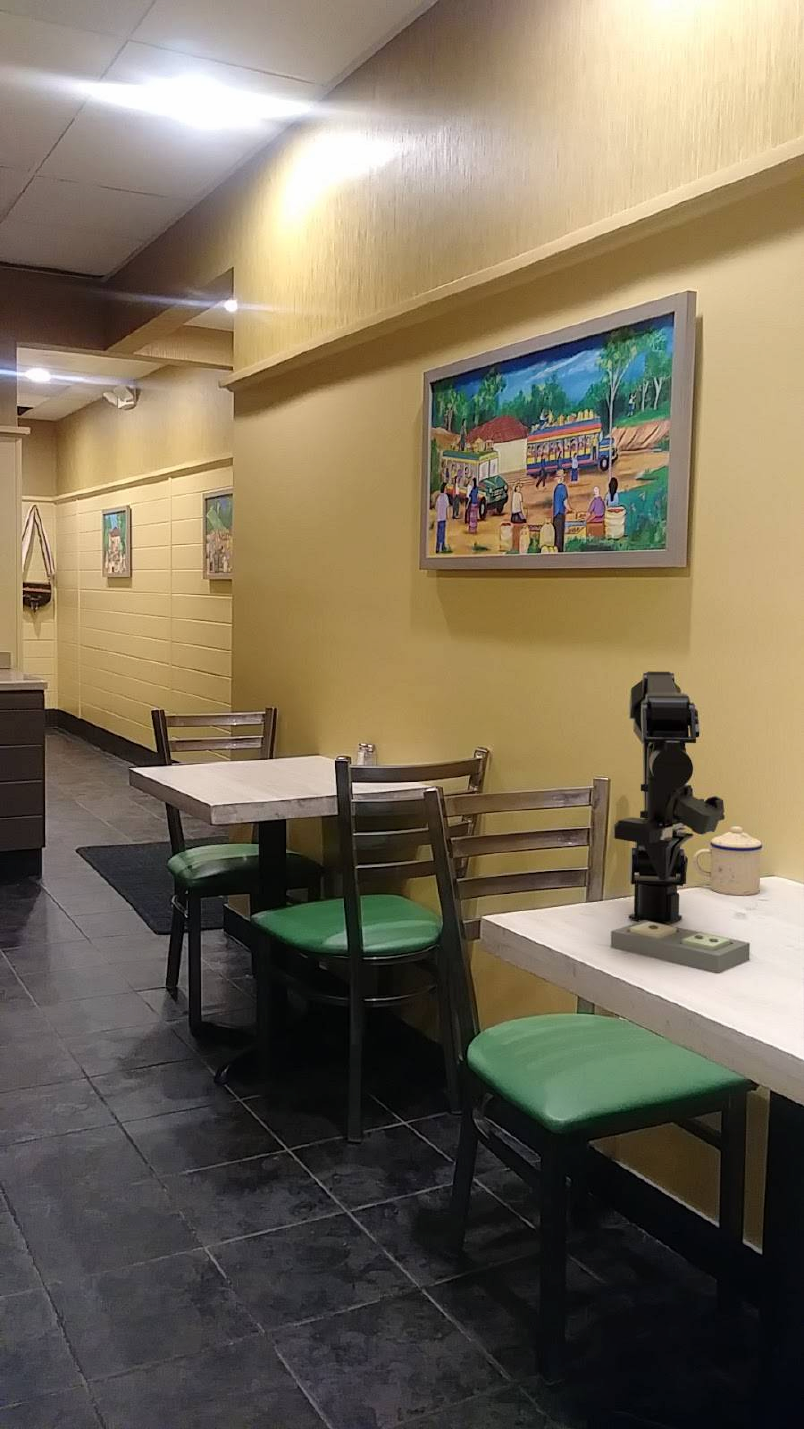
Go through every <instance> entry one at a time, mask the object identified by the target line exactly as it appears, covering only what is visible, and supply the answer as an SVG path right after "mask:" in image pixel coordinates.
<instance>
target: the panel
mask: <svg viewBox="0 0 804 1429" xmlns="http://www.w3.org/2000/svg"><path fill="white" fill-rule="evenodd" d="M645 922H652V921H647V920H642V921H636V922H635V923H634V922H633V923H631V924H628V925H625V926H623V927H619V928H616V929H612V930H610V948H612V949H617V950H620V951H625V952H629V953H632V954H637V955H642V956H645V957H650V958H654V959H658V960H661V961H666V962H668V963H669V962H671V963H674V964H679V965H682V966H688V967H691V968H695V969H699V970H703V971H707V972H712V973H715V974H720V973H722V972H724V971H726V970H729V969H731V968H733V967H736V966H738V965H740V964H742V963H745V962H747V961H750V948H751V947H750V945H751V944H750V942H747V941H742V940H739V939H733V938H730V937H729V938H728V937H724V936H720V935H715V934H709V933H705V932H701V931H697V930H692V929H687V928H684V927H678V926H673V925H670V924H661V923H657V924H661V925H666V926H670V927H675V928H676V933H673V934H671V935H668V936H665V937H662V938H660V939H658V938H654V937H650V936H645V935H641V934H637V933H632V932H630V928H631V927H634V926H637V925H640V924H643V923H645ZM652 923H656V922H652ZM698 933H704V934H708V935H713V936H717V937H722V938H726V939H731V940H730V945H728V946H726V947H723V948H721V949H718V950H716V951H711V950H706V949H702V948H698V947H693V946H689V945H685V944H682V939H685V938H687V937H690V936H693V935H695V934H698Z"/></svg>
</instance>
